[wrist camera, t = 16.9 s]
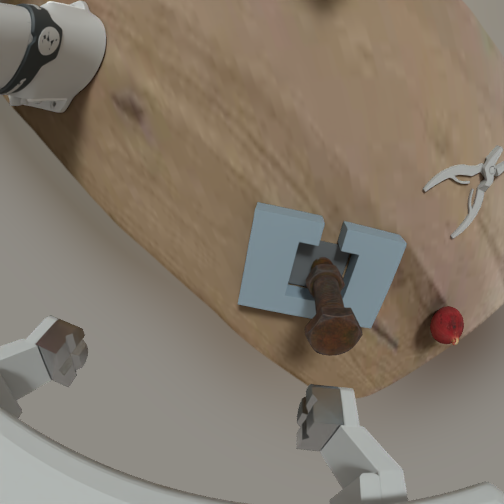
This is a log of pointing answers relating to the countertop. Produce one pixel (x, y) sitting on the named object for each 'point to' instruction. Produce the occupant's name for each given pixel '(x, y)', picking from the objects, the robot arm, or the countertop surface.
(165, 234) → the countertop surface
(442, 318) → the onion
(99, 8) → the countertop surface
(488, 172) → the pliers
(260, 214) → the pocket frame
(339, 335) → the bolt
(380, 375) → the countertop surface
